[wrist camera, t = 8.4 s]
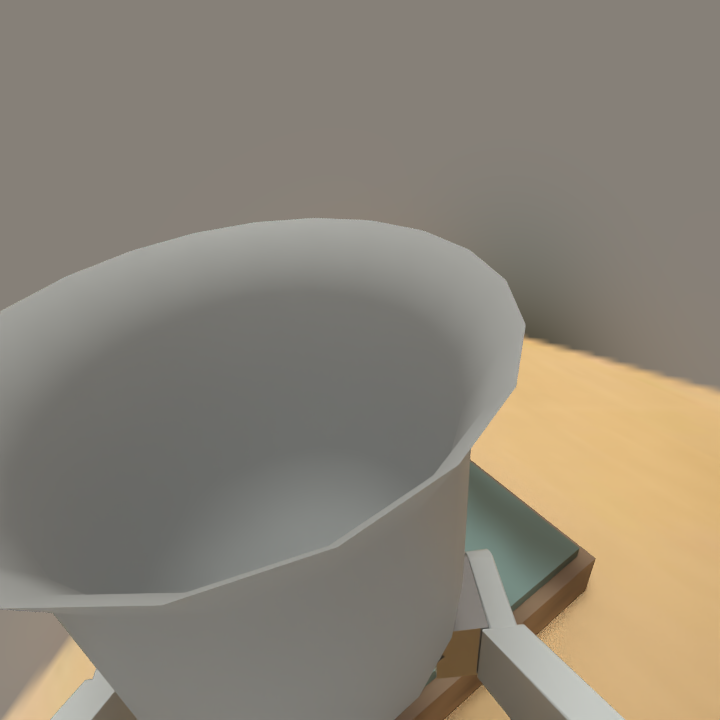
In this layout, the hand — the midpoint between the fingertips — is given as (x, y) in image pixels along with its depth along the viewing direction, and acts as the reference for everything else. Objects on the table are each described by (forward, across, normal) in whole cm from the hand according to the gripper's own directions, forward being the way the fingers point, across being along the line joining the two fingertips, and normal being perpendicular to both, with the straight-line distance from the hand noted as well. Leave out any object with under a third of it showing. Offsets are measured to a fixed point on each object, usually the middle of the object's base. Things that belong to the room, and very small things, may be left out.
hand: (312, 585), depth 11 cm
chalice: (-1, 0, +11) cm, 11 cm away
